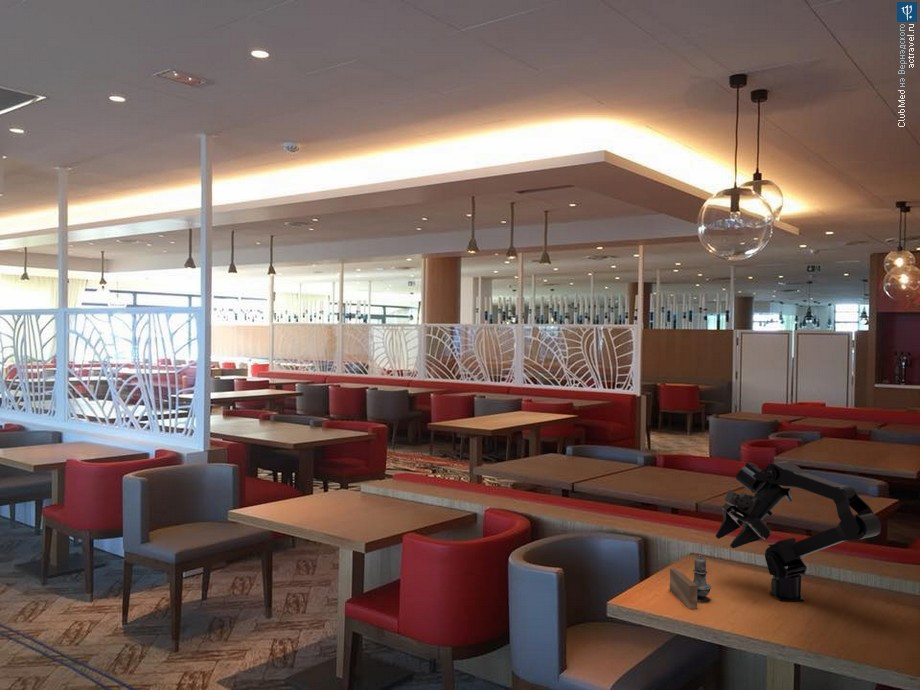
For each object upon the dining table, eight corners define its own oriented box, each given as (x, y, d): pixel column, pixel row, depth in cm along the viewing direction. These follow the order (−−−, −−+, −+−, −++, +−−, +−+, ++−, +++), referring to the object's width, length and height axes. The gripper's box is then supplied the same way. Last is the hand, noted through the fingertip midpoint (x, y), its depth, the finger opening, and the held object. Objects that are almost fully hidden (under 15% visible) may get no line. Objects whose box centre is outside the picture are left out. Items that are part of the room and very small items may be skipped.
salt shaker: (706, 604, 201) (707, 558, 201) (684, 599, 205) (685, 554, 205) (714, 598, 206) (715, 553, 206) (693, 593, 210) (694, 549, 209)
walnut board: (676, 590, 212) (677, 568, 212) (697, 608, 198) (697, 585, 198) (669, 590, 212) (670, 568, 212) (689, 609, 198) (689, 585, 198)
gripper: (729, 474, 220) (690, 513, 220) (760, 487, 202) (718, 530, 201) (755, 501, 221) (717, 540, 220) (788, 517, 203) (747, 560, 202)
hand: (723, 542), depth 211 cm, fingers open, 9 cm apart
